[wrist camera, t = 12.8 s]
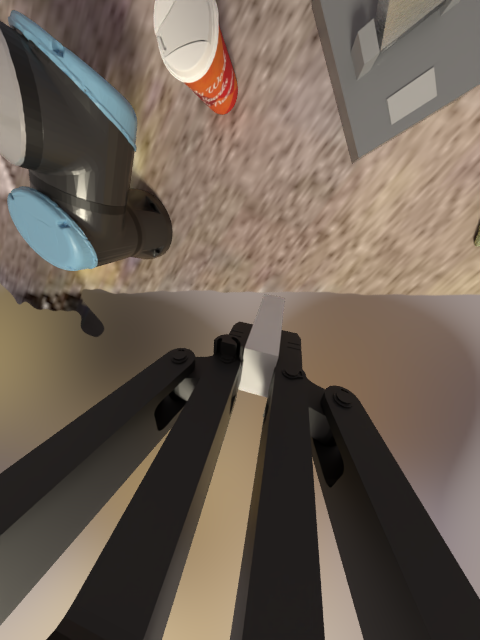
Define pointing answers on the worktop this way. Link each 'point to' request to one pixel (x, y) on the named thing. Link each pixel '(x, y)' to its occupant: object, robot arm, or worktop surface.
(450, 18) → the switch block
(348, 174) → the worktop surface
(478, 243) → the washcloth
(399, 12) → the lever
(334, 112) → the worktop surface
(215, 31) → the paper cup
